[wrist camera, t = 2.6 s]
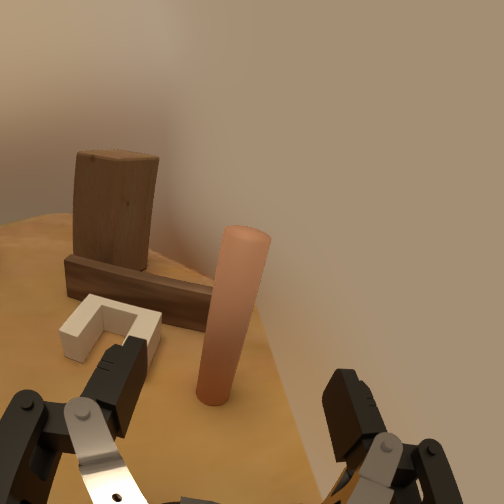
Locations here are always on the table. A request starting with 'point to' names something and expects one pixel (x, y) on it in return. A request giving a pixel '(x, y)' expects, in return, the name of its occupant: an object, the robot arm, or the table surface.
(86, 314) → the notched block
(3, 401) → the table surface
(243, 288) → the dowel
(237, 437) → the table surface
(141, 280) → the wall
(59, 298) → the table surface
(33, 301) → the table surface
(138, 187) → the wooden block
